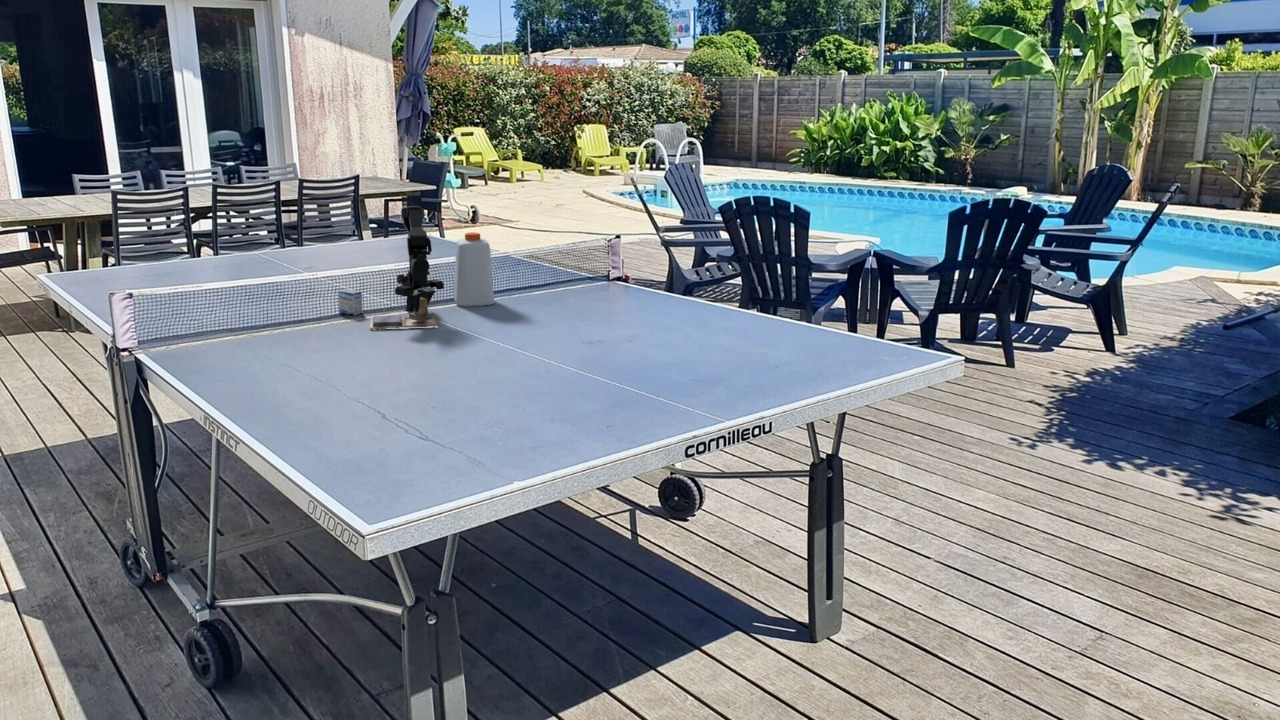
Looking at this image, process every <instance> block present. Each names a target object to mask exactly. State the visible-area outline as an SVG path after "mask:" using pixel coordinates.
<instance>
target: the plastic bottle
mask: <svg viewBox="0 0 1280 720" xmlns="http://www.w3.org/2000/svg"><path fill="white" fill-rule="evenodd" d="M455 244H456V245H455V260H454V261H455V262H454V267H455V268H454V282H453V284H454V287H453V288H454V289H453V300H454V302H455V304H456V305H458V306H459V307H462V308H463V307H467V308H470V307H486V306H485V305H489V306H492V305H493V304H494V303H495V296H494V295H495V293H494V284H493V283H494V282H493V280H494V279H493V272H492V259H491V256H492V255H491V249H490V248H491V245H490V244H489V241H487V240H486V239H484V238H481V233H479V232H474V231H473V232H466V233H465V234H464V238H461V239H458V240H456V243H455ZM491 304H492V305H491Z"/></svg>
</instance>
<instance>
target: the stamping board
mask: <svg viewBox="0 0 1280 720" xmlns="http://www.w3.org/2000/svg"><path fill="white" fill-rule="evenodd" d="M369 323H370V324H369V330H370V329H386V328H399V327H427V326H438V327H439V322H438V317H437V316H433V319H429V320H425V321H421V322H420V321H416V320H412V319H409V316H408V317H402V316H401V315H376V316H372V318H371V319H370V322H369Z"/></svg>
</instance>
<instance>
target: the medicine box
mask: <svg viewBox="0 0 1280 720" xmlns="http://www.w3.org/2000/svg"><path fill="white" fill-rule="evenodd" d="M337 293H338V294H337V295H338V311H339V313H340V314H342V313H349V314H358V313H362V314H363V294H362V291H357V290H353V289H346V288H345V289H342V290H341V289H340V290H338V292H337Z"/></svg>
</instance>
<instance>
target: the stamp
mask: <svg viewBox="0 0 1280 720" xmlns="http://www.w3.org/2000/svg"><path fill="white" fill-rule="evenodd" d="M427 308H428V306H427V299H426V298H422V297H420V302H419V309H418V312H416V311H415V309H414V312H408V317H409V319H412V320H416V321H420V322H421V321H425V320H429V319H433V317H434V316H433V312H429V311H428V309H429V308H428V309H427Z"/></svg>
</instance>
